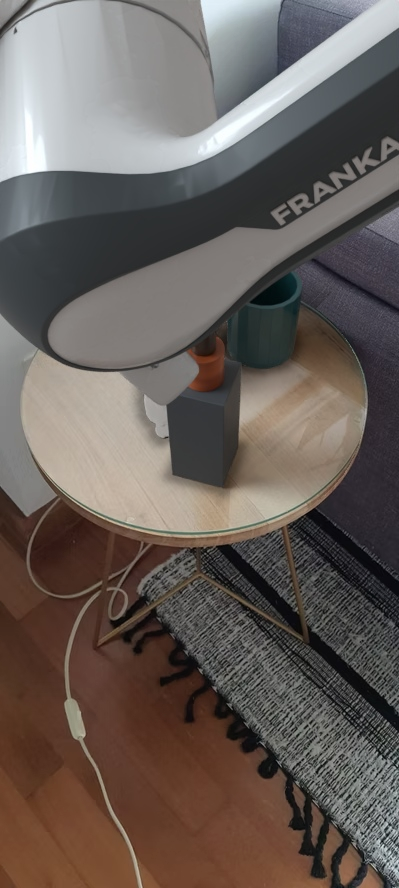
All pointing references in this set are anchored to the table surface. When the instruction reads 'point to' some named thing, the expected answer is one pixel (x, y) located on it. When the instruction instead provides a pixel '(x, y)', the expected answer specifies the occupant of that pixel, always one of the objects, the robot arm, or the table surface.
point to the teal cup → (267, 325)
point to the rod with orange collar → (208, 363)
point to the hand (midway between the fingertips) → (126, 327)
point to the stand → (206, 429)
